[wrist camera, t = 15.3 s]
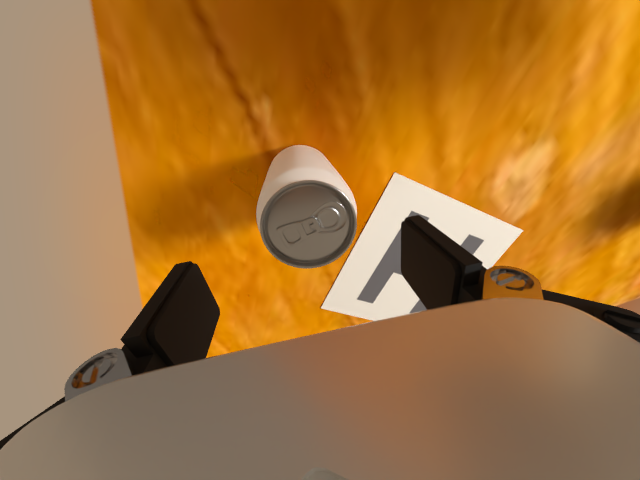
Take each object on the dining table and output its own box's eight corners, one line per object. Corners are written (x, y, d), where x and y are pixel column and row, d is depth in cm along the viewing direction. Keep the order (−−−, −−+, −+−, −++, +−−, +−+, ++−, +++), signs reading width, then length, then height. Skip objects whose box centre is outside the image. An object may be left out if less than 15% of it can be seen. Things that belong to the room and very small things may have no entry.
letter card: (394, 172, 25) (395, 172, 25) (522, 230, 31) (523, 230, 30) (320, 307, 33) (320, 308, 33) (432, 334, 39) (433, 334, 38)
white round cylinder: (340, 193, 25) (376, 251, 15) (285, 216, 26) (283, 288, 16) (317, 132, 22) (343, 151, 12) (256, 160, 23) (228, 202, 12)
